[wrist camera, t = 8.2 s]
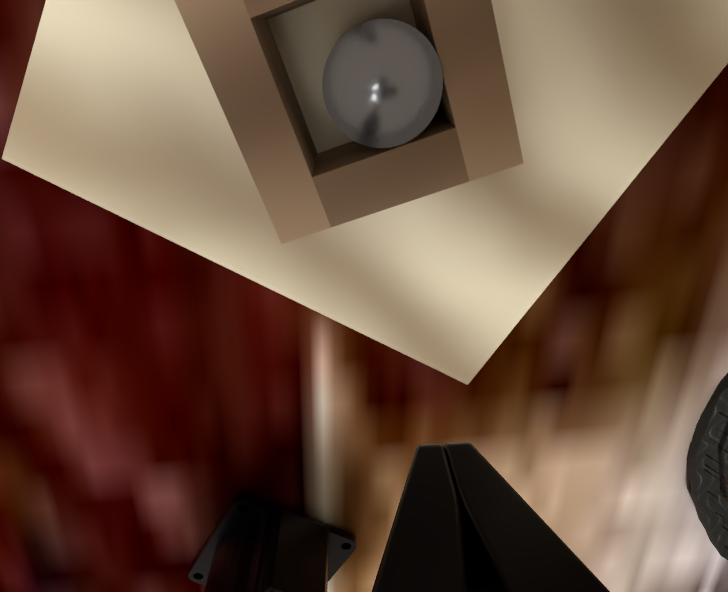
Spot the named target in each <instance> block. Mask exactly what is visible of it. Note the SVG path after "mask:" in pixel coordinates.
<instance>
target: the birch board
mask: <svg viewBox="0 0 728 592" xmlns="http://www.w3.org/2000/svg"><path fill="white" fill-rule="evenodd" d="M491 1H492V6H493V11H494V16H495V21H496V26H497V31H498V36H499V41H500V46H501V52H502V57H503V62H504V67H505V72H506V77H507V82H508V87H509V92H510V97H511V102H512V107H513V112H514V117H515V122H516V127H517V132H518V137H519V142H520V147H521V152H522V157H523V162H524V163H523V164H520V165H517V166H514V167H511V168H508V169H505V170H502V171H499V172H496V173H493V174H490V175H487V176H484V177H481V178H478V179H475V180H472V181H469V182H466V183H463V184H460V185H457V186H454V187H451V188H448V189H445V190H442V191H439V192H436V193H433V194H430V195H427V196H424V197H421V198H418V199H415V200H412V201H409V202H406V203H403V204H400V205H397V206H394V207H391V208H388V209H385V210H382V211H379V212H376V213H373V214H370V215H367V216H364V217H361V218H358V219H355V220H352V221H349V222H346V223H343V224H340V225H337V226H334V227H331V228H328V229H325V230H322V231H319V232H316V233H313V234H310V235H307V236H304V237H301V238H298V239H295V240H292V241H289V242H286V243H283V244H281V242H280V239H279V237H278V235H277V232H276V230H275V228H274V226H273V223H272V221H271V219H270V217H269V214H268V212H267V210H266V207H265V205H264V203H263V201H262V198H261V196H260V194H259V192H258V189H257V187H256V185H255V182H254V180H253V178H252V176H251V173H250V171H249V169H248V166H247V164H246V162H245V160H244V157H243V155H242V153H241V151H240V148H239V146H238V144H237V141H236V139H235V137H234V135H233V132H232V130H231V128H230V126H229V123H228V121H227V119H226V116H225V114H224V112H223V110H222V107H221V105H220V103H219V101H218V98H217V96H216V94H215V91H214V89H213V87H212V85H211V82H210V80H209V78H208V75H207V73H206V71H205V69H204V66H203V64H202V62H201V60H200V57H199V55H198V53H197V50H196V48H195V46H194V44H193V41H192V39H191V37H190V35H189V32H188V30H187V28H186V25H185V23H184V21H183V19H182V16H181V14H180V12H179V10H178V7H177V5H176V3H175V0H46V2H45V6H44V9H43V13H42V17H41V20H40V24H39V27H38V31H37V35H36V38H35V42H34V45H33V49H32V52H31V56H30V60H29V63H28V67H27V70H26V74H25V78H24V81H23V85H22V88H21V92H20V96H19V99H18V103H17V106H16V110H15V113H14V117H13V121H12V124H11V128H10V131H9V135H8V139H7V142H6V146H5V149H4V153H3V156H2V159H3V160H5V161H8V162H10V163H12V164H14V165H16V166H18V167H20V168H22V169H24V170H26V171H28V172H30V173H32V174H34V175H36V176H38V177H41V178H43V179H45V180H47V181H49V182H51V183H53V184H55V185H57V186H59V187H61V188H63V189H65V190H67V191H69V192H71V193H73V194H76V195H78V196H80V197H82V198H84V199H86V200H88V201H90V202H92V203H94V204H96V205H98V206H100V207H102V208H104V209H106V210H108V211H111V212H113V213H115V214H117V215H119V216H121V217H123V218H125V219H127V220H129V221H131V222H133V223H135V224H137V225H139V226H141V227H143V228H146V229H148V230H150V231H152V232H154V233H156V234H158V235H160V236H162V237H164V238H166V239H168V240H170V241H172V242H174V243H176V244H179V245H181V246H183V247H185V248H187V249H189V250H191V251H193V252H195V253H197V254H199V255H201V256H203V257H205V258H207V259H209V260H211V261H214V262H216V263H218V264H220V265H222V266H224V267H226V268H228V269H230V270H232V271H234V272H236V273H238V274H240V275H242V276H244V277H246V278H249V279H251V280H253V281H255V282H257V283H259V284H261V285H263V286H265V287H267V288H269V289H271V290H273V291H275V292H277V293H279V294H282V295H284V296H286V297H288V298H290V299H292V300H294V301H296V302H298V303H300V304H302V305H304V306H306V307H308V308H310V309H312V310H314V311H317V312H319V313H321V314H323V315H325V316H327V317H329V318H331V319H333V320H335V321H337V322H339V323H341V324H343V325H345V326H347V327H349V328H352V329H354V330H356V331H358V332H360V333H362V334H364V335H366V336H368V337H370V338H372V339H374V340H376V341H378V342H380V343H382V344H385V345H387V346H389V347H391V348H393V349H395V350H397V351H399V352H401V353H403V354H405V355H407V356H409V357H411V358H413V359H415V360H417V361H420V362H422V363H424V364H426V365H428V366H430V367H432V368H434V369H436V370H438V371H440V372H442V373H444V374H446V375H448V376H450V377H452V378H455V379H457V380H459V381H461V382H463V383H465V384H467V385H468V384H469V383H470V381H471V380H472V379H473V378H474V376H475V375H476V374H477V373H478V371H479V370H480V369H481V368H482V367H483V365H484V364H485V363H486V362H487V360H488V359H489V358H490V357H491V355H492V354H493V353H494V352H495V350H496V349H497V348H498V347H499V346H500V344H501V343H502V342H503V341H504V339H505V338H506V337H507V336H508V334H509V333H510V332H511V331H512V329H513V328H514V327H515V326H516V324H517V323H518V322H519V321H520V320H521V318H522V317H523V316H524V315H525V313H526V312H527V311H528V310H529V308H530V307H531V306H532V305H533V303H534V302H535V301H536V300H537V298H538V297H539V296H540V295H541V294H542V292H543V291H544V290H545V289H546V287H547V286H548V285H549V284H550V282H551V281H552V280H553V279H554V277H555V276H556V275H557V274H558V273H559V271H560V270H561V269H562V268H563V266H564V265H565V264H566V263H567V261H568V260H569V259H570V258H571V256H572V255H573V254H574V253H575V251H576V250H577V249H578V248H579V247H580V245H581V244H582V243H583V242H584V240H585V239H586V238H587V237H588V235H589V234H590V233H591V232H592V230H593V229H594V228H595V227H596V226H597V224H598V223H599V222H600V221H601V219H602V218H603V217H604V216H605V214H606V213H607V212H608V211H609V209H610V208H611V207H612V206H613V204H614V203H615V202H616V201H617V200H618V198H619V197H620V196H621V195H622V193H623V192H624V191H625V190H626V188H627V187H628V186H629V185H630V183H631V182H632V181H633V180H634V179H635V177H636V176H637V175H638V174H639V172H640V171H641V170H642V169H643V167H644V166H645V165H646V164H647V162H648V161H649V160H650V159H651V157H652V156H653V155H654V154H655V153H656V151H657V150H658V149H659V148H660V146H661V145H662V144H663V143H664V141H665V140H666V139H667V138H668V136H669V135H670V134H671V133H672V132H673V130H674V129H675V128H676V127H677V125H678V124H679V123H680V122H681V120H682V119H683V118H684V117H685V115H686V114H687V113H688V112H689V110H690V109H691V108H692V107H693V106H694V104H695V103H696V102H697V101H698V99H699V98H700V97H701V96H702V94H703V93H704V92H705V91H706V89H707V88H708V87H709V86H710V85H711V83H712V82H713V81H714V80H715V78H716V77H717V76H718V75H719V73H720V72H721V71H722V70H723V68H724V67H725V66H726V65H727V63H728V0H491ZM374 19H394V20H398V21H402V22H404V23H407V24H409V25H411V26H412V27H414V28H416V29H417V27H416V23H415V19H414V15H413V12H412V8H411V4H410V0H316V1H314V2H311V3H308V4H306V5H303V6H301V7H298V8H296V9H293V10H291V11H288V12H285V13H283V14H280V15H278V16H275V17H273V18H270V19H267V20H268V23H269V25H270V28H271V31H272V33H273V36H274V39H275V41H276V44H277V47H278V49H279V52H280V55H281V57H282V60H283V63H284V66H285V68H286V71H287V74H288V76H289V79H290V82H291V84H292V87H293V90H294V92H295V95H296V98H297V100H298V103H299V106H300V108H301V111H302V114H303V116H304V119H305V122H306V124H307V127H308V130H309V132H310V135H311V138H312V140H313V143H314V146H315V148H316V151H317V153H320V152H323V151H326V150H329V149H332V148H335V147H337V146H340V145H343V144H346V143H349V142H352V141H353V140H352V139H350V138H349V137H347V136H346V135H345V134H344V133H343V132H341V131H340V129H339V128H338V127H337V126H336V125H335V123H334V122H333V120H332V119H331V117H330V115H329V113H328V111H327V108H326V105H325V102H324V97H323V90H322V78H323V71H324V67H325V64H326V61H327V58H328V56H329V53H330V52H331V50H332V48H333V47H334V45H335V44H336V42H337V41H338V40H339V38H340V37H341V36H342V35H343V34H344V33H345V32H346V31H347V30H349V29H350V28H351V27H353V26H355V25H357V24H359V23H362V22H365V21H369V20H374ZM437 111H438V109H437Z"/></svg>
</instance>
